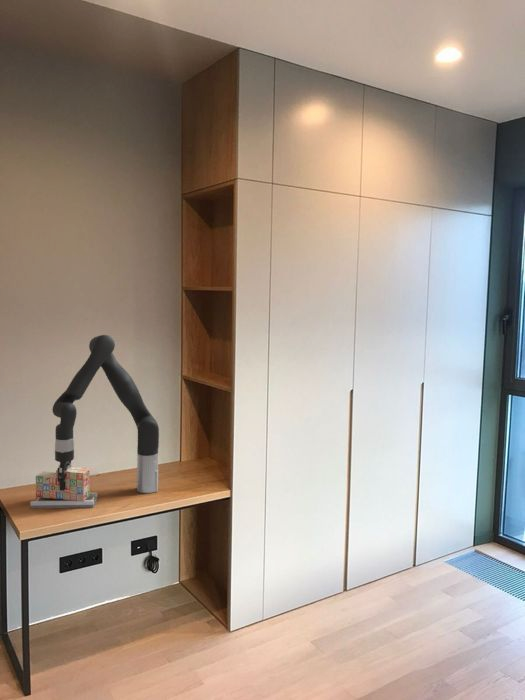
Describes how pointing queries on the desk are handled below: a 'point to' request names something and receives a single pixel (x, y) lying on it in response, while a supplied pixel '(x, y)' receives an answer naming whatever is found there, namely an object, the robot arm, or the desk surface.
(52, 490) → the stack of blocks
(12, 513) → the desk surface
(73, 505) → the base board
